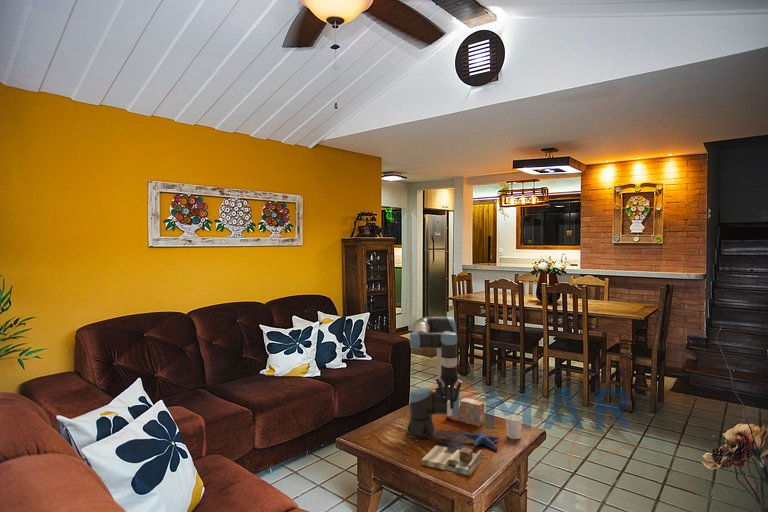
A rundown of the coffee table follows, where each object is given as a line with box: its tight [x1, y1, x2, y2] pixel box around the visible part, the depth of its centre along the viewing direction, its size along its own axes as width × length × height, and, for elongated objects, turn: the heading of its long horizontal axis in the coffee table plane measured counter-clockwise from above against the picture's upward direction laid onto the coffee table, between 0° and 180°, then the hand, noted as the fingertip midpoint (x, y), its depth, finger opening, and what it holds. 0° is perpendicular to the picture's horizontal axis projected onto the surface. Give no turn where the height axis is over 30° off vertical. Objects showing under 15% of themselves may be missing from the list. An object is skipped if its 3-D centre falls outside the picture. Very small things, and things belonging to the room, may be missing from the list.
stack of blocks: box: [446, 397, 485, 427], centre depth 264 cm, size 21×6×12 cm, turn 51°
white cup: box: [505, 414, 522, 440], centre depth 240 cm, size 8×8×10 cm
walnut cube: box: [459, 447, 473, 463], centre depth 209 cm, size 4×4×4 cm
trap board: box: [421, 444, 483, 477], centre depth 212 cm, size 23×17×4 cm
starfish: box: [463, 430, 500, 452], centre depth 231 cm, size 19×19×5 cm
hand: (449, 414), depth 216 cm, fingers closed
